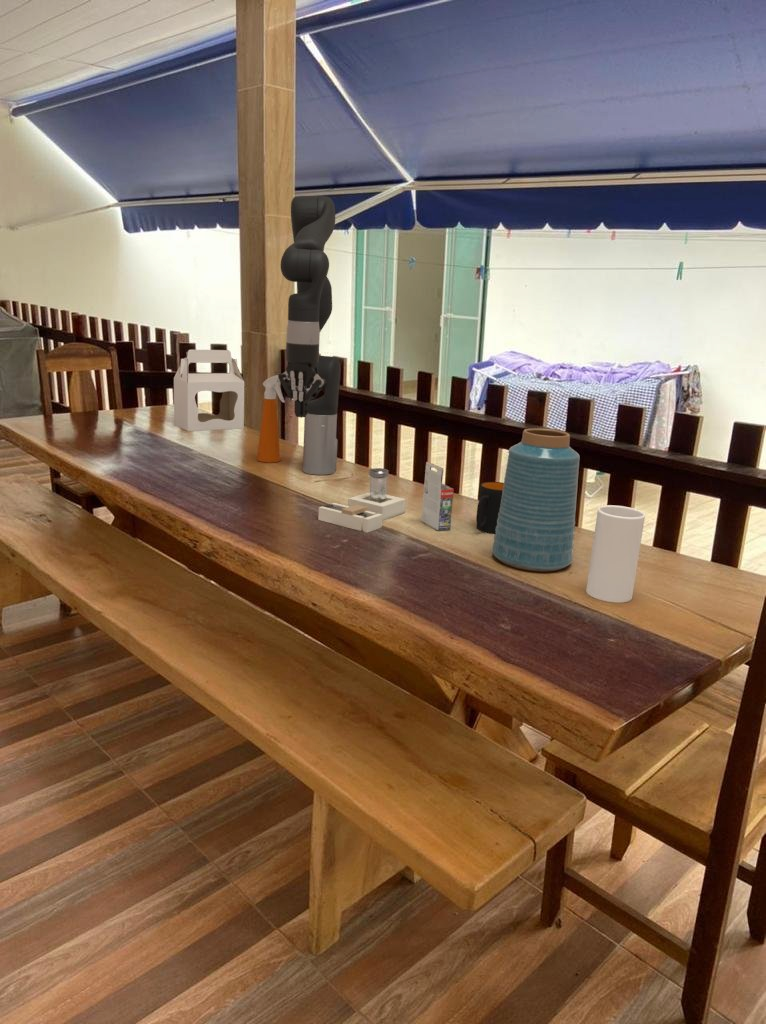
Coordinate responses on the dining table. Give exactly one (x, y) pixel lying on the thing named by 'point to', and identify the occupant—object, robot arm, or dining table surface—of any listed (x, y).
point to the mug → (489, 506)
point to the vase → (538, 503)
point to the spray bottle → (270, 422)
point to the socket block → (380, 505)
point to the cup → (615, 553)
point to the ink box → (436, 499)
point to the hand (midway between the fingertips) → (300, 416)
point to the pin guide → (351, 517)
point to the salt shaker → (378, 484)
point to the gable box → (216, 382)
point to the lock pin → (341, 509)
